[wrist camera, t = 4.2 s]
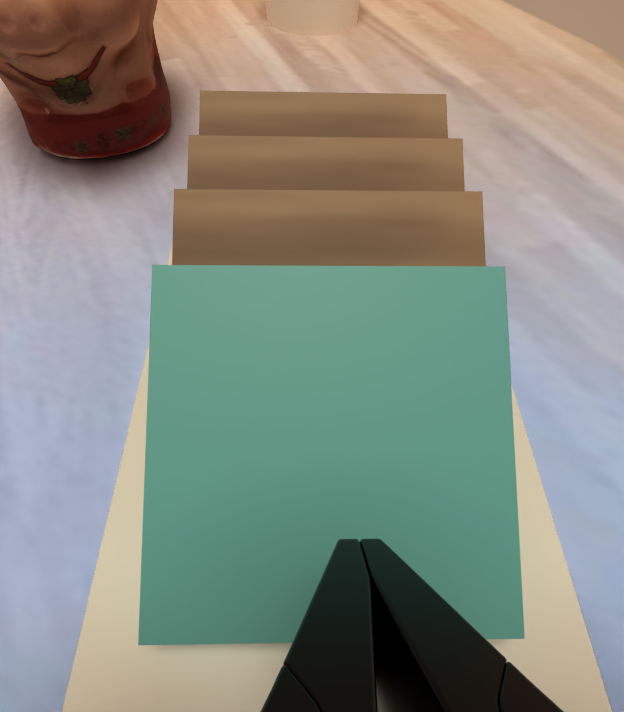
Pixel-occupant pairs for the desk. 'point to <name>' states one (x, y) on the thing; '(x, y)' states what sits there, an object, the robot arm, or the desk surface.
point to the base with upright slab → (312, 16)
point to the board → (264, 660)
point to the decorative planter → (85, 74)
